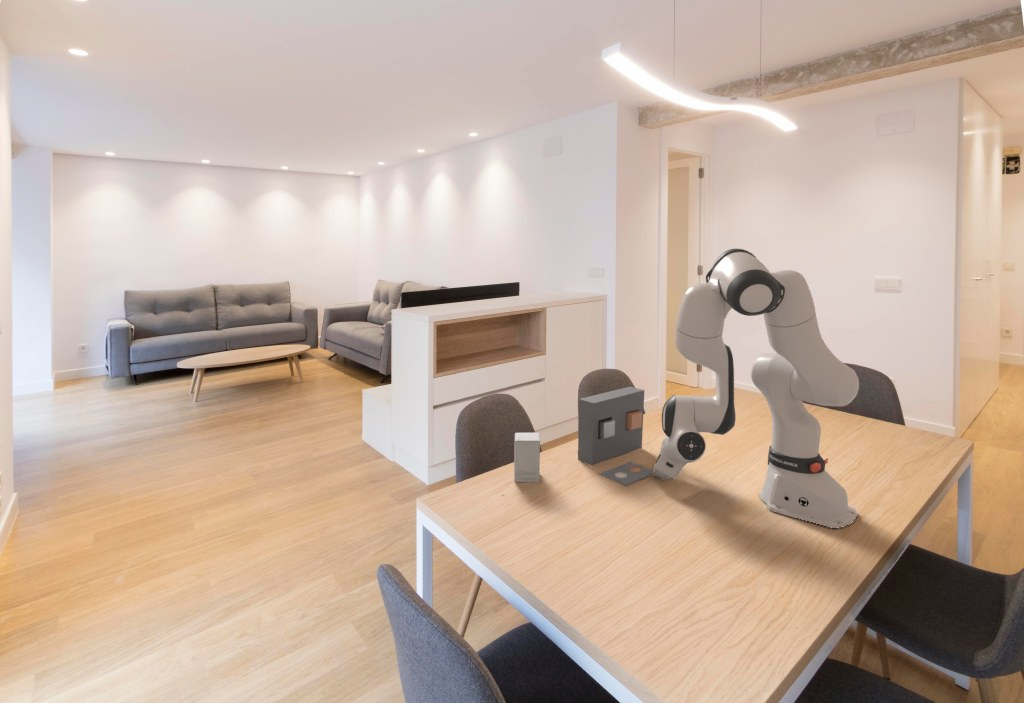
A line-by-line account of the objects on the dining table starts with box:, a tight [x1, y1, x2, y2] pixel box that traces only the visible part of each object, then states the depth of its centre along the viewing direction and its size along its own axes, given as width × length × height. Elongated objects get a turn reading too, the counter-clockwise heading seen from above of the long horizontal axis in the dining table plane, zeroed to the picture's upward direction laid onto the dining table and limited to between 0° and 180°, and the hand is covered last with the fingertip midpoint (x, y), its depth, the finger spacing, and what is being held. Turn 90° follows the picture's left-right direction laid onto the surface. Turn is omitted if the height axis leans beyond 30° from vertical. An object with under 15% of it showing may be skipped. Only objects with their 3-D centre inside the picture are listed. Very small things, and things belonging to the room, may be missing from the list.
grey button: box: [598, 418, 615, 439], centre depth 170 cm, size 3×5×5 cm, turn 128°
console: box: [577, 386, 645, 466], centre depth 177 cm, size 6×24×20 cm, turn 128°
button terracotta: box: [626, 410, 642, 430], centre depth 178 cm, size 3×5×5 cm, turn 128°
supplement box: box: [513, 432, 541, 483], centre depth 160 cm, size 7×7×13 cm
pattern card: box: [599, 461, 654, 487], centre depth 163 cm, size 10×14×1 cm
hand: (669, 447), depth 168 cm, fingers open, 8 cm apart
